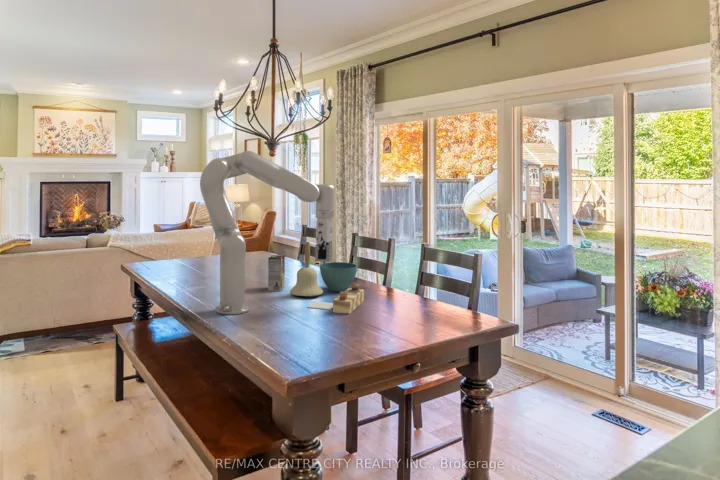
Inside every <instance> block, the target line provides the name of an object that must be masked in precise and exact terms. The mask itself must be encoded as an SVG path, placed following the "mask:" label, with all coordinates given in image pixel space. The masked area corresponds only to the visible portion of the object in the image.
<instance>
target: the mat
mask: <svg viewBox="0 0 720 480" xmlns="http://www.w3.org/2000/svg"><path fill="white" fill-rule="evenodd" d="M306 308H307V309H315V310H326V311H328V310H329V311H331V310H333V302H325V301H323V302H322V301H314V302H313V303H311V304H310V305H308V306H307V307H306Z"/></svg>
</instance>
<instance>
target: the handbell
mask: <svg viewBox="0 0 720 480" xmlns="http://www.w3.org/2000/svg"><path fill="white" fill-rule="evenodd" d="M310 244H311V243H310V241H306V242H305V245H304V262H305V263H304V264H305V266H303V267H300V268H299V269H298V270H297V273H296V283H295V285H293V287H292V288H291V289H290V290H289V294H291V295H294V296H300V297H315V296H316V297H317V296H321V295H322V294H323V293H324V290H323V288H321V287H320V286H319V285H318V273H317V271H316V269H315V268H314V267H310V261H311V245H310Z"/></svg>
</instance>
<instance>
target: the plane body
mask: <svg viewBox="0 0 720 480" xmlns="http://www.w3.org/2000/svg"><path fill="white" fill-rule="evenodd" d="M359 287H360V283H352V284H351V287H349V288H348V289H347V290H346V291H341V292H339V295H338V296H337V297H335V298H334V299H332V301H333V302H332V303H333V308H332V313H335V314H336V313H338V314H346V313H348V315H350V314H351V313H352V312H353V311H354V310H356V308H357V307H358V306H360V305H361V304H362V303H363V302H364V301H365V300H364V299H365V289H360V288H359Z"/></svg>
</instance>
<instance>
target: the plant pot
mask: <svg viewBox="0 0 720 480" xmlns="http://www.w3.org/2000/svg"><path fill="white" fill-rule="evenodd" d="M319 271H320V275H321V278H322V281H323V282H324V283H323V284H324V285H325V286H326V288H328V290H329V291H331V292H339V293H340V292H341V291H346V290H347V289H349V288H351V287H350V286H352V284H353V282H354V281H355V278H356V275H357V271H358V264H355V263H352V262H346V261H345V262H343V261H340V262H338V261H337V262H336V261H335V262H334V261H330V262H323V263H320V264H319Z"/></svg>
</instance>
